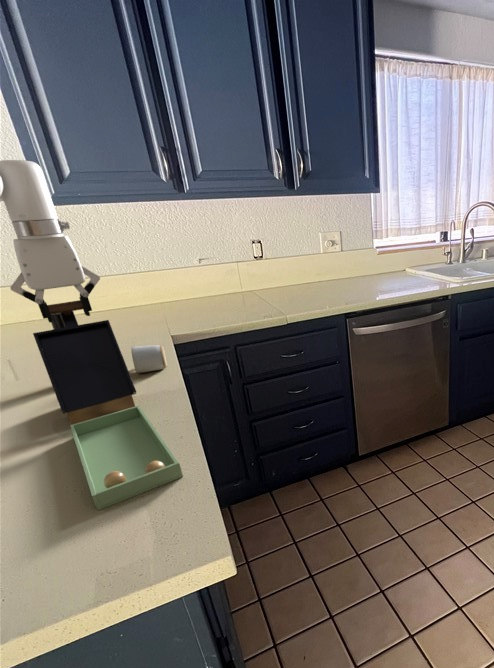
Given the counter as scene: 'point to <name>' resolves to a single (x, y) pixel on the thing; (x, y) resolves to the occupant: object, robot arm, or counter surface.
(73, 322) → the pan
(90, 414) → the stand
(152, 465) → the ball
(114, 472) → the ball
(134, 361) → the ceramic mug
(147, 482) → the tray
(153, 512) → the counter surface
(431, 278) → the counter surface
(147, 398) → the counter surface
